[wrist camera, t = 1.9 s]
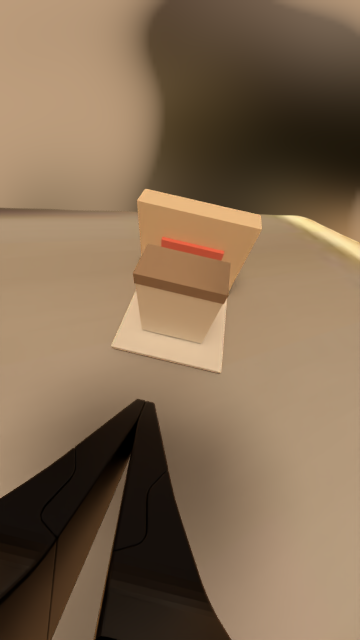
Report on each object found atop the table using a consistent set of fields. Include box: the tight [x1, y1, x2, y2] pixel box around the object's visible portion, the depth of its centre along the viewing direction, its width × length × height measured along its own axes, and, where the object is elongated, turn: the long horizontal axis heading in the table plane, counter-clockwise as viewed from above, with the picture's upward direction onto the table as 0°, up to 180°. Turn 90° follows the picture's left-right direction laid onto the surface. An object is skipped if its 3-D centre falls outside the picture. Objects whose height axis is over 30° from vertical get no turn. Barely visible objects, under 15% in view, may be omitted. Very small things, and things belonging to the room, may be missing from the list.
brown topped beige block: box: [133, 244, 231, 344], centre depth 20 cm, size 4×8×10 cm, turn 78°
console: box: [111, 189, 262, 374], centre depth 22 cm, size 16×14×12 cm
